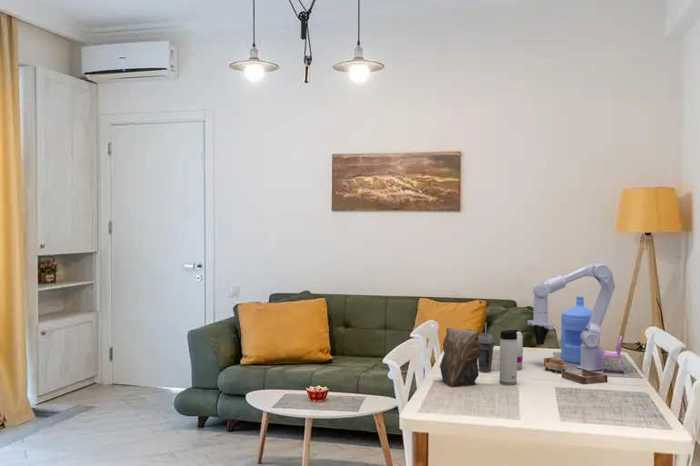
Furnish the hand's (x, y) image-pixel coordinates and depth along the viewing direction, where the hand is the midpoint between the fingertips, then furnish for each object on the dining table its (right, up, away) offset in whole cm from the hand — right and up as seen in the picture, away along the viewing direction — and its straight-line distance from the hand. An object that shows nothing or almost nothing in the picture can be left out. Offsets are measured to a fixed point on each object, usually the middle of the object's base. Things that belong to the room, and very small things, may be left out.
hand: (540, 344), depth 288 cm
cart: (+4, -10, -9) cm, 13 cm away
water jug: (+21, -10, +14) cm, 27 cm away
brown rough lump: (-40, -10, -33) cm, 52 cm away
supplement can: (-13, -10, -4) cm, 16 cm away
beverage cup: (-25, -9, -10) cm, 29 cm away
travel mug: (-20, -10, -31) cm, 38 cm away
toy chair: (+27, -10, -9) cm, 30 cm away
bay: (+10, -10, -23) cm, 27 cm away
